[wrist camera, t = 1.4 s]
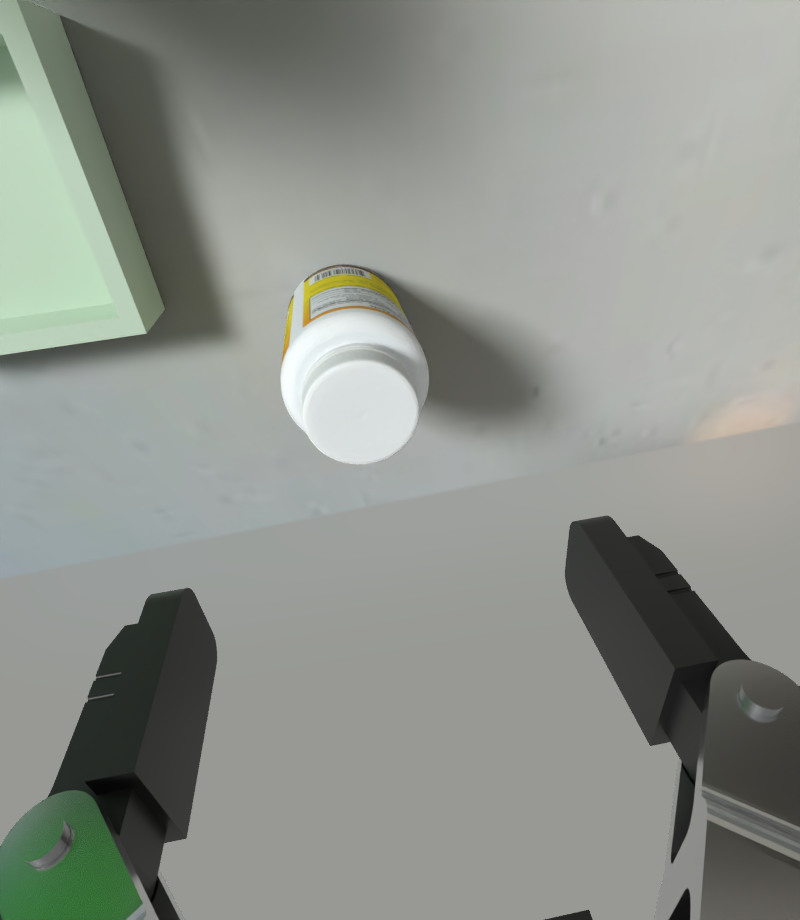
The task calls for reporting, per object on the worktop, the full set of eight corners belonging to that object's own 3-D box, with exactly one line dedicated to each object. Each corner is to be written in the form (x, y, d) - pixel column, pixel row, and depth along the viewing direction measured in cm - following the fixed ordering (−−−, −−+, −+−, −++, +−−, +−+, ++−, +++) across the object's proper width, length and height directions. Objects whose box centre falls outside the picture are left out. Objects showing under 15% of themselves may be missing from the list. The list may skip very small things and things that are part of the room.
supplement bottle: (345, 391, 28) (359, 510, 20) (263, 318, 25) (238, 419, 17) (423, 319, 26) (476, 415, 18) (345, 233, 24) (364, 297, 15)
